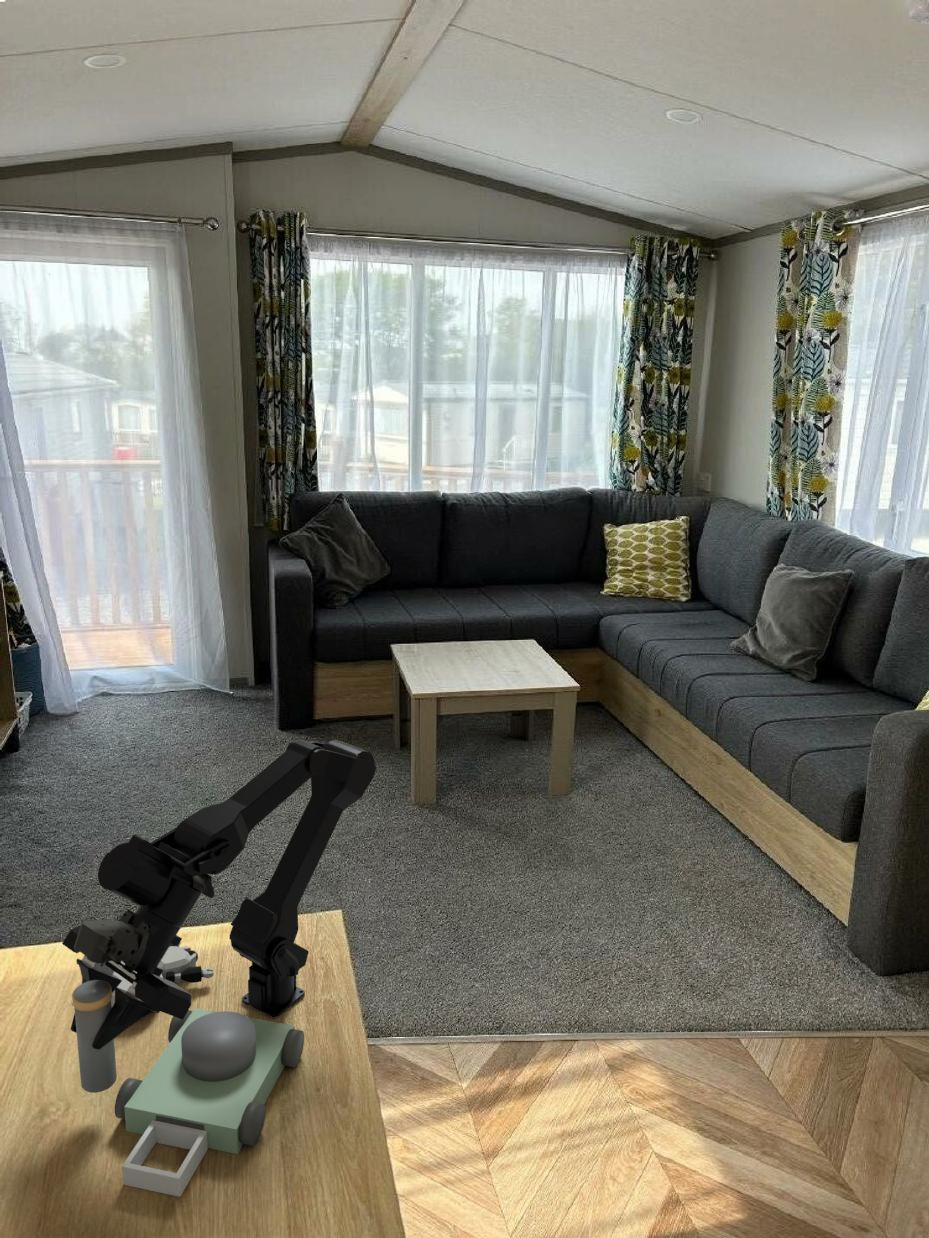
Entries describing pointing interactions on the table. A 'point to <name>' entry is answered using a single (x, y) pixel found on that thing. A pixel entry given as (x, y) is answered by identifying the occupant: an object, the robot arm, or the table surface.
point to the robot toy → (175, 968)
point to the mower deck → (204, 1091)
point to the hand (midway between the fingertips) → (84, 1039)
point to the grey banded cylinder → (94, 1035)
